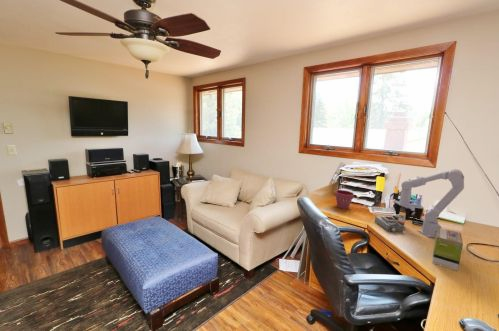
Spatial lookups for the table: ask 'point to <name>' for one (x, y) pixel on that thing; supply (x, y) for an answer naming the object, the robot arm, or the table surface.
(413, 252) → the table surface
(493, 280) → the table surface
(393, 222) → the gearbox
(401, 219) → the spout can
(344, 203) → the plant pot
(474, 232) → the table surface
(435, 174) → the robot arm
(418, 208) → the coffee mug
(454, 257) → the tea box
